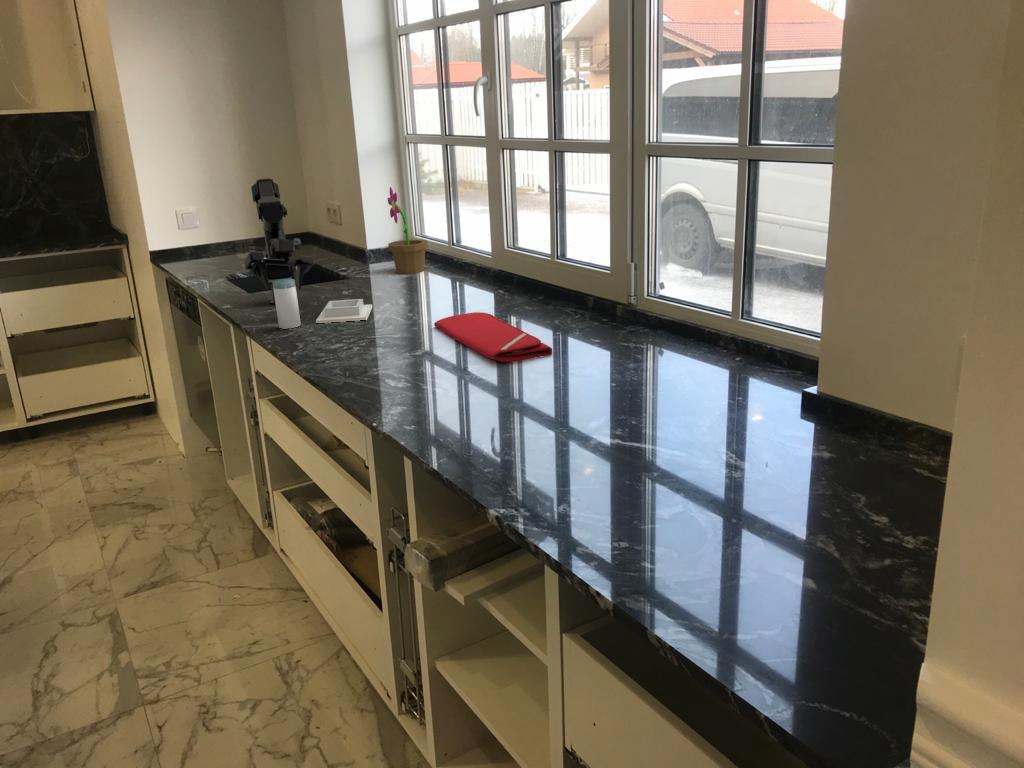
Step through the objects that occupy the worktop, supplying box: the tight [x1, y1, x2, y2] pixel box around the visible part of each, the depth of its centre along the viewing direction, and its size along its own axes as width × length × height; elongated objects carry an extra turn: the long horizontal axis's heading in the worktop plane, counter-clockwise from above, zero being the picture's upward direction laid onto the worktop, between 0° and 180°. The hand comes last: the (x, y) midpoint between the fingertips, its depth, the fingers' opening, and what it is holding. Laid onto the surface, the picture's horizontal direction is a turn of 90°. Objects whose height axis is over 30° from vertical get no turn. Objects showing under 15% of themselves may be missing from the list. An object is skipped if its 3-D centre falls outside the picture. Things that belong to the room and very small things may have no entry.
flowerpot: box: [387, 186, 429, 275], centre depth 300 cm, size 14×14×30 cm
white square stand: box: [315, 298, 373, 324], centre depth 245 cm, size 16×14×4 cm
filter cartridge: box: [272, 279, 302, 330], centre depth 235 cm, size 6×6×13 cm
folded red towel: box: [433, 311, 553, 364], centre depth 212 cm, size 16×41×4 cm, turn 24°
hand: (283, 289), depth 241 cm, fingers open, 9 cm apart
